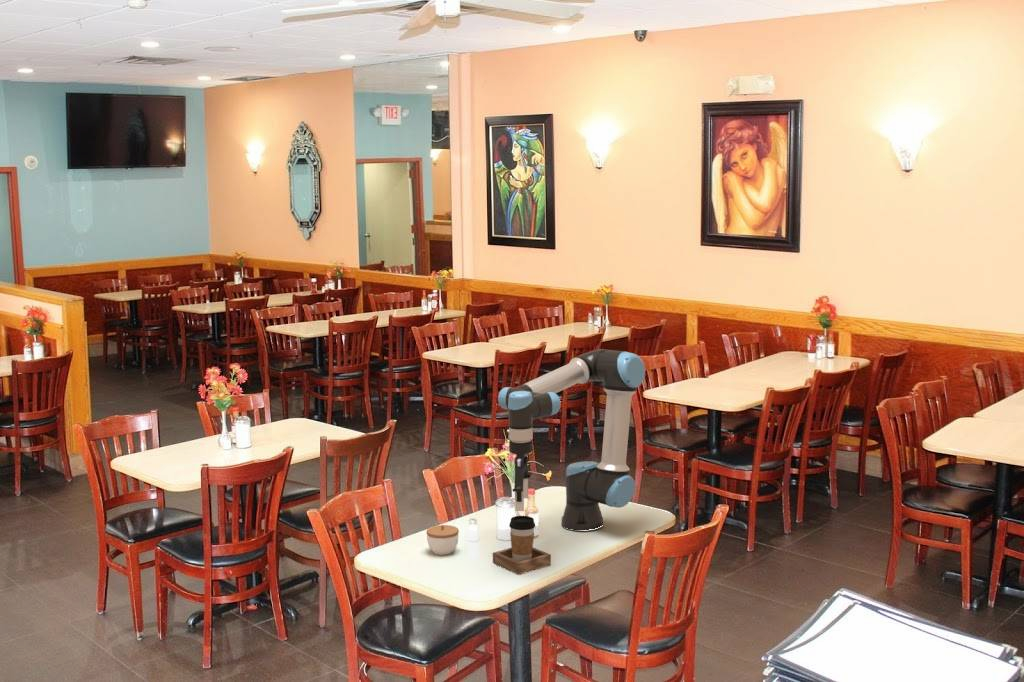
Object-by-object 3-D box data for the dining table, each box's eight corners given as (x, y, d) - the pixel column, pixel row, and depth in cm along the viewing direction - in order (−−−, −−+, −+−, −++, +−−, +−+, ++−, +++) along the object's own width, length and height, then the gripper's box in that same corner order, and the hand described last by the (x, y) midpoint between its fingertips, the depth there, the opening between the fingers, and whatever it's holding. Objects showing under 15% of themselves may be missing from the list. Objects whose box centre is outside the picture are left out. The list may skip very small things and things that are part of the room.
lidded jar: (457, 557, 348) (456, 530, 346) (425, 557, 348) (424, 530, 347) (460, 546, 358) (460, 520, 357) (429, 546, 359) (428, 520, 358)
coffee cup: (513, 568, 336) (513, 523, 333) (505, 559, 344) (506, 515, 341) (538, 565, 338) (538, 520, 336) (530, 556, 346) (530, 513, 344)
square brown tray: (524, 554, 350) (524, 543, 350) (550, 565, 340) (550, 554, 339) (492, 563, 342) (492, 552, 342) (518, 574, 332) (518, 563, 331)
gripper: (513, 430, 348) (514, 492, 351) (504, 449, 323) (505, 516, 327) (536, 430, 347) (536, 493, 350) (528, 450, 322) (529, 516, 326)
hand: (521, 504), depth 338 cm, fingers open, 13 cm apart
